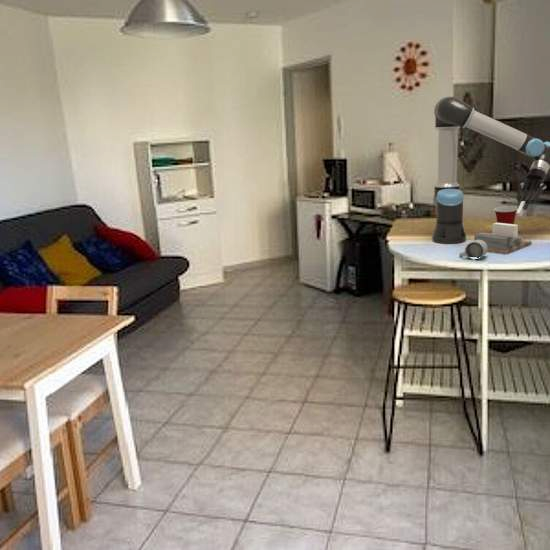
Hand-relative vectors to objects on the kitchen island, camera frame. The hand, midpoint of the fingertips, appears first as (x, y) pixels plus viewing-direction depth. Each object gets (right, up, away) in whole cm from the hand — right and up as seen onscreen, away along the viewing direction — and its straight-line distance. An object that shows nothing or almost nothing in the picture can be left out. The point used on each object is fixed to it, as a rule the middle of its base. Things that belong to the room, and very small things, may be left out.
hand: (518, 214), depth 253 cm
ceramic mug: (-27, -20, -18) cm, 38 cm away
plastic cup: (+3, -6, +23) cm, 24 cm away
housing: (-10, -15, -4) cm, 18 cm away
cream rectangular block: (-8, -12, -3) cm, 15 cm away
